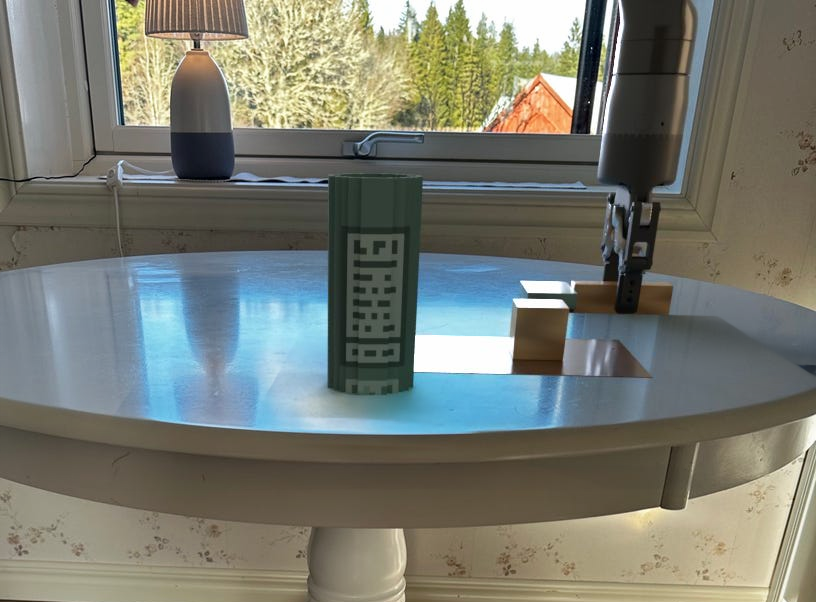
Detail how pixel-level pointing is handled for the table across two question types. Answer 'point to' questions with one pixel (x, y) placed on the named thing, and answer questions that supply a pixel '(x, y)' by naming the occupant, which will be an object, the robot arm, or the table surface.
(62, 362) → the table surface
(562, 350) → the cork block
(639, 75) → the robot arm
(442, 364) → the board
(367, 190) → the can
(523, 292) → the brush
